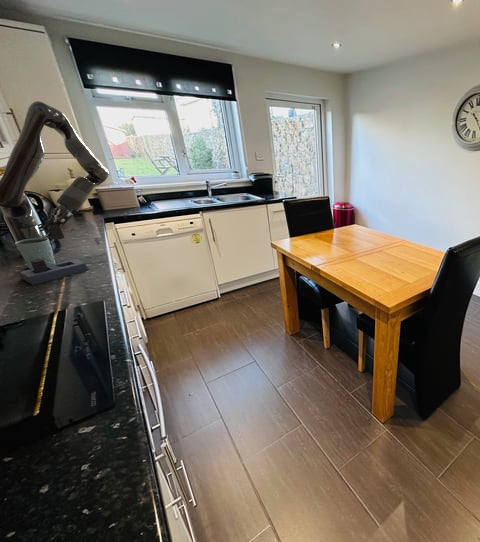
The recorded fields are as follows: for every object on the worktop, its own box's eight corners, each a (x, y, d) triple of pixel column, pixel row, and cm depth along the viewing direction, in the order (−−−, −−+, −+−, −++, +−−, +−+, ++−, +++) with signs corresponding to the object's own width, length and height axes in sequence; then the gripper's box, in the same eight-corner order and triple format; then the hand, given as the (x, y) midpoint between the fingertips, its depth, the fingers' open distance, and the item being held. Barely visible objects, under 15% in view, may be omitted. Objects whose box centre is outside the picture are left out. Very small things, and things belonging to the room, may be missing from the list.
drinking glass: (21, 268, 127) (8, 242, 122) (48, 260, 136) (38, 236, 131) (37, 270, 124) (25, 245, 120) (64, 262, 133) (54, 238, 129)
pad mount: (23, 279, 116) (19, 271, 115) (77, 265, 131) (74, 258, 129) (33, 285, 112) (29, 277, 111) (88, 270, 127) (85, 262, 125)
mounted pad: (38, 278, 118) (29, 260, 115) (48, 275, 120) (39, 258, 117) (42, 280, 116) (33, 262, 113) (52, 277, 119) (43, 260, 116)
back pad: (51, 238, 125) (43, 220, 121) (60, 236, 127) (53, 219, 124) (55, 239, 123) (47, 221, 120) (64, 238, 125) (57, 220, 122)
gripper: (90, 205, 127) (66, 237, 122) (75, 201, 133) (51, 232, 128) (71, 194, 121) (44, 228, 116) (56, 191, 127) (30, 223, 121)
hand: (48, 230), depth 122 cm, fingers closed on back pad, 4 cm apart
